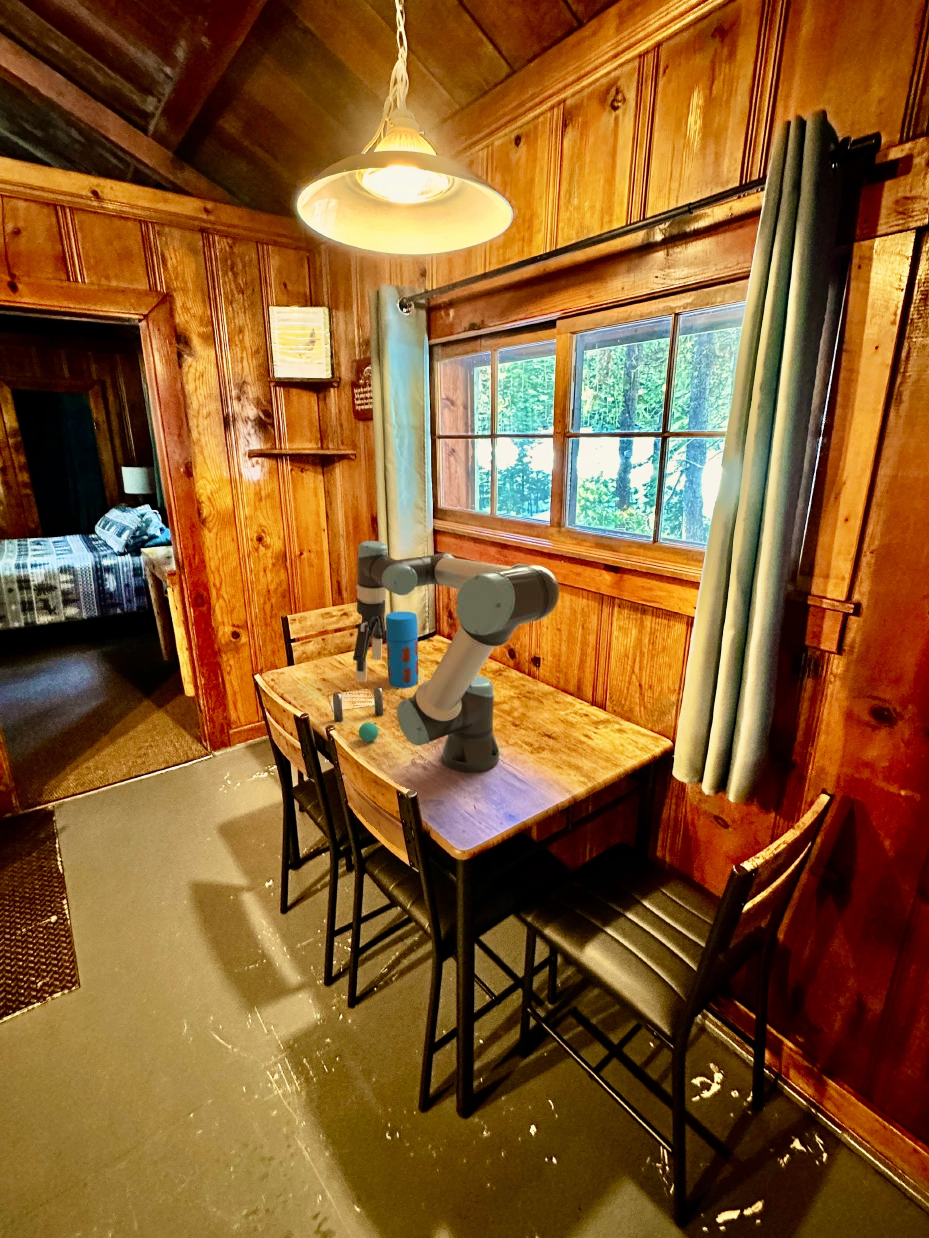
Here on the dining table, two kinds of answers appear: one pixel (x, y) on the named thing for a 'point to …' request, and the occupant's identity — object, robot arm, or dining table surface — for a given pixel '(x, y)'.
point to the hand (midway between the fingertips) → (369, 669)
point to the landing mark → (354, 699)
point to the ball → (368, 732)
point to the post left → (337, 707)
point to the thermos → (402, 649)
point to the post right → (378, 701)
